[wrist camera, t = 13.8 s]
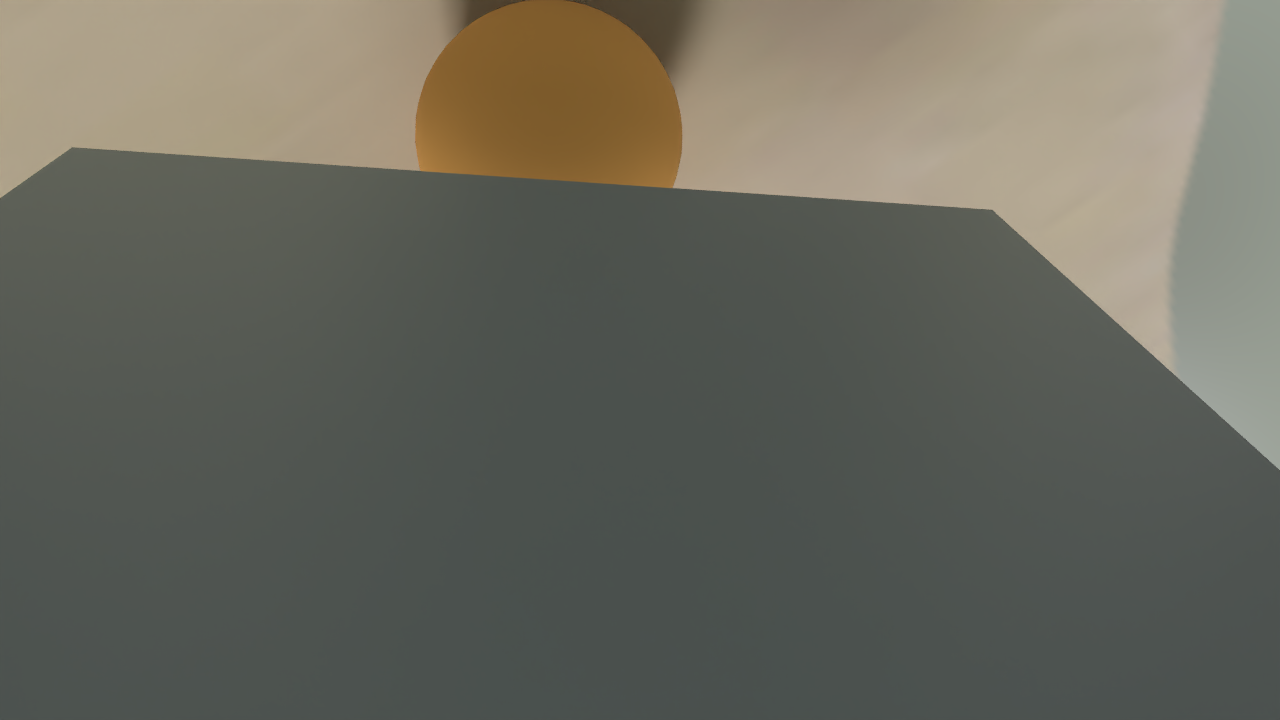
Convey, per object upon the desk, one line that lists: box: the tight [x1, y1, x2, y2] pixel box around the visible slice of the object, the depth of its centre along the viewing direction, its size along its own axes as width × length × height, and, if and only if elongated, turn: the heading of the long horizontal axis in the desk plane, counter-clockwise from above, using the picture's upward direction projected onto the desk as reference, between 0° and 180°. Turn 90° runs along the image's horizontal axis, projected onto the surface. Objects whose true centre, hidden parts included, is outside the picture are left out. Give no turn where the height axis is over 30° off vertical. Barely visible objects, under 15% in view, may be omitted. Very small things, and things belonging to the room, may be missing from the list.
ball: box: [415, 0, 682, 188], centre depth 22 cm, size 5×5×5 cm
